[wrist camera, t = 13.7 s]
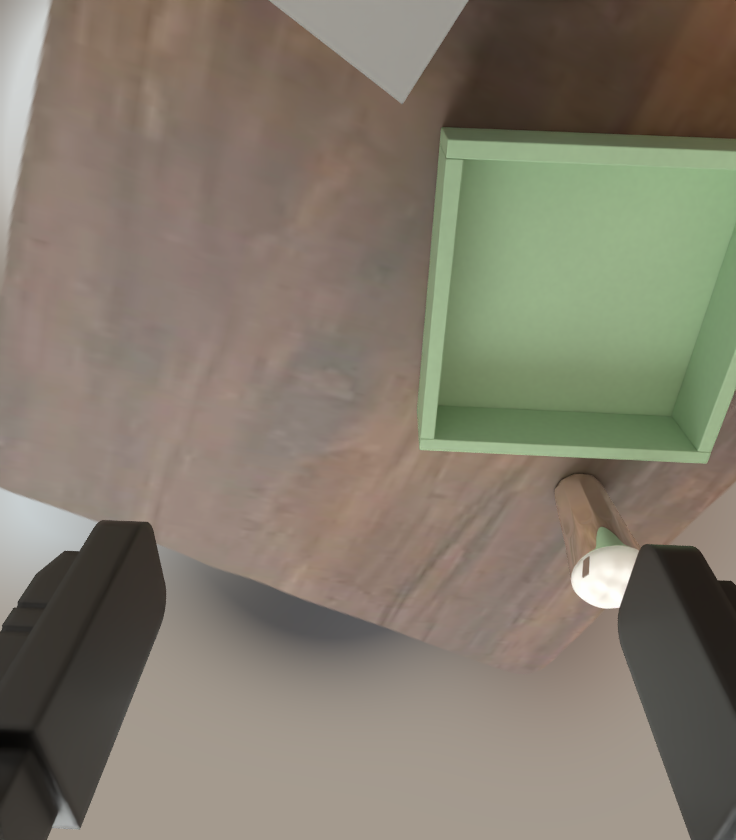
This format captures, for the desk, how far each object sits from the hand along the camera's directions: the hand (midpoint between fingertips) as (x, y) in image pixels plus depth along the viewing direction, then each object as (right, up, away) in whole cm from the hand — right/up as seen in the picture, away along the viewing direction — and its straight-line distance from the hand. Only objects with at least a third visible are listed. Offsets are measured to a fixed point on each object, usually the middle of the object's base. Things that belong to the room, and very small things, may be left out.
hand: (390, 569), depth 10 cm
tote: (+11, +10, +25) cm, 29 cm away
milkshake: (+14, -2, +33) cm, 35 cm away
